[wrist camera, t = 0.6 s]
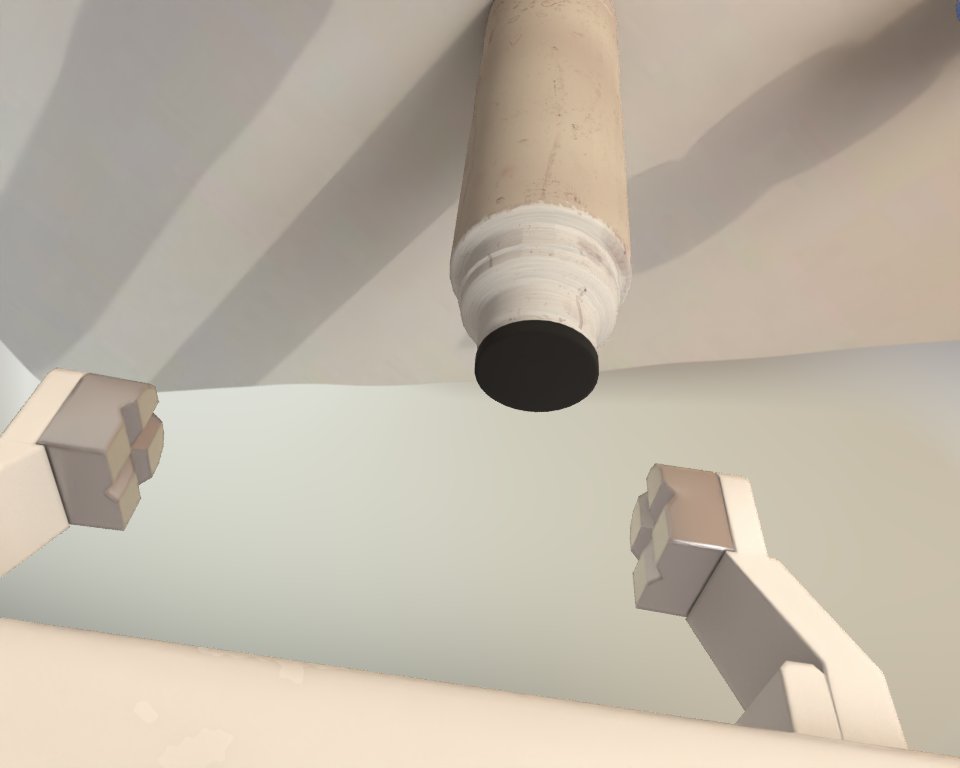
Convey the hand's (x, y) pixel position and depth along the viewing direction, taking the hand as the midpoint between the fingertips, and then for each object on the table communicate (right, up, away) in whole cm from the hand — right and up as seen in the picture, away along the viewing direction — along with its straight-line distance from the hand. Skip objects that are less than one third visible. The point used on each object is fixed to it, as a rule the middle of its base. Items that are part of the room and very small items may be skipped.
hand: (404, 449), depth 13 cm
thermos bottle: (+6, +23, +36) cm, 43 cm away
